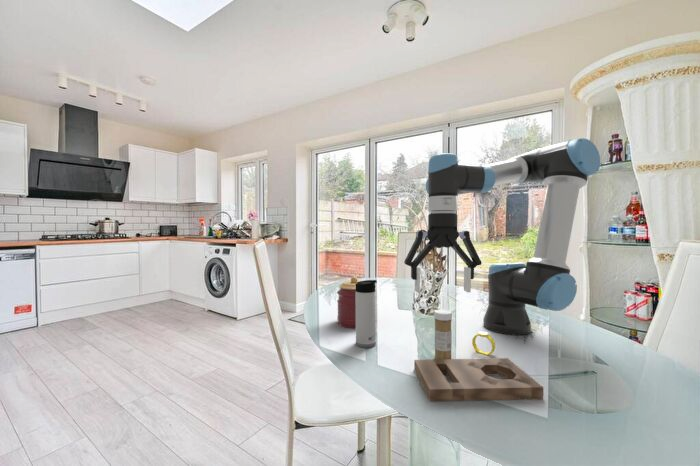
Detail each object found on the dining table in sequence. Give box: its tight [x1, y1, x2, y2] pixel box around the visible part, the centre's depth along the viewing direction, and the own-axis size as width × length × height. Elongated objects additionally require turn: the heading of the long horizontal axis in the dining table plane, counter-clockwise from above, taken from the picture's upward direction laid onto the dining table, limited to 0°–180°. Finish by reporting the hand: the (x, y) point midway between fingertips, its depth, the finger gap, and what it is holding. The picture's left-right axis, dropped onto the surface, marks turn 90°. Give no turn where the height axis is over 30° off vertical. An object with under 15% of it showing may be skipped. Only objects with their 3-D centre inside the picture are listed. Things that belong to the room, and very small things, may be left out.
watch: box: [471, 331, 496, 356], centre depth 87 cm, size 6×3×6 cm, turn 45°
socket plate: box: [413, 357, 544, 402], centre depth 71 cm, size 24×14×2 cm, turn 91°
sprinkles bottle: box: [433, 309, 453, 359], centre depth 82 cm, size 5×5×13 cm
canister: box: [336, 276, 361, 329], centre depth 115 cm, size 13×13×18 cm
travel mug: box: [355, 279, 378, 349], centre depth 94 cm, size 6×7×20 cm
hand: (442, 291), depth 82 cm, fingers open, 13 cm apart
